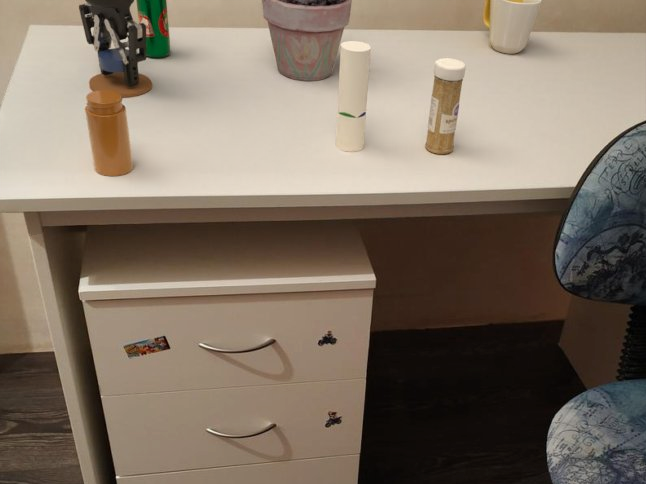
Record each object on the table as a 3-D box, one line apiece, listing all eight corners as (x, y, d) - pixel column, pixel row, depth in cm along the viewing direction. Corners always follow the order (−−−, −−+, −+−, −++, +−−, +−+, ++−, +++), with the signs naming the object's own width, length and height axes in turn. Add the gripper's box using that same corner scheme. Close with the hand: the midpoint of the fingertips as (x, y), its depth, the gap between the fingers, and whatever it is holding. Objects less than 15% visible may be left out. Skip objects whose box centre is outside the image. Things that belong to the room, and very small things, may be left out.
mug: (539, 57, 164) (551, 2, 157) (494, 58, 161) (504, 3, 154) (510, 34, 173) (520, -18, 167) (467, 35, 170) (475, -18, 163)
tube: (332, 140, 125) (336, 41, 116) (357, 138, 127) (364, 40, 117) (341, 152, 123) (346, 52, 113) (367, 150, 124) (375, 50, 114)
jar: (110, 179, 110) (99, 107, 103) (86, 166, 112) (74, 95, 105) (141, 168, 113) (132, 97, 106) (117, 155, 115) (107, 85, 108)
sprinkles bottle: (450, 157, 125) (463, 70, 116) (421, 152, 125) (432, 64, 116) (455, 145, 128) (468, 59, 119) (427, 140, 129) (438, 54, 120)
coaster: (115, 102, 129) (114, 98, 128) (76, 83, 133) (76, 80, 132) (164, 87, 135) (164, 84, 135) (126, 70, 139) (126, 66, 139)
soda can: (136, 51, 146) (128, -20, 138) (161, 47, 149) (155, -23, 141) (151, 60, 143) (144, -12, 135) (176, 56, 146) (170, -15, 138)
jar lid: (124, 57, 135) (122, 45, 134) (144, 67, 132) (142, 55, 131) (93, 64, 131) (91, 52, 130) (113, 75, 129) (111, 63, 128)
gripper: (156, -24, 122) (166, 87, 133) (96, -46, 128) (111, 62, 139) (115, -16, 117) (129, 98, 128) (55, -40, 123) (73, 71, 134)
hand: (119, 79), depth 133 cm, fingers closed on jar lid, 5 cm apart
